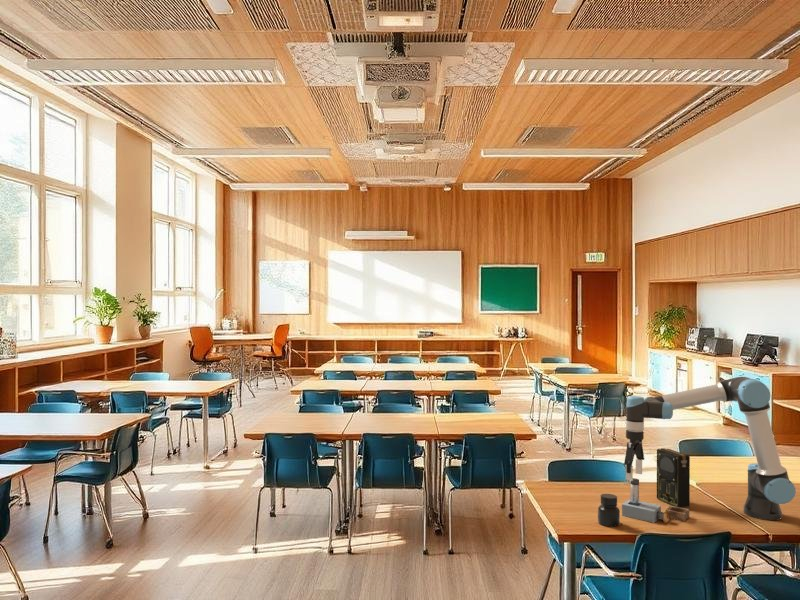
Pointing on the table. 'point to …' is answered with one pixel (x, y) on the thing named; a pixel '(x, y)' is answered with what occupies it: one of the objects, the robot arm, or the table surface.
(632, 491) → the drill peg
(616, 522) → the ink bottle
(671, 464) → the black hard drive
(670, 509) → the rack
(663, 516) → the drift key
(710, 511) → the table surface
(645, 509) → the socket block
